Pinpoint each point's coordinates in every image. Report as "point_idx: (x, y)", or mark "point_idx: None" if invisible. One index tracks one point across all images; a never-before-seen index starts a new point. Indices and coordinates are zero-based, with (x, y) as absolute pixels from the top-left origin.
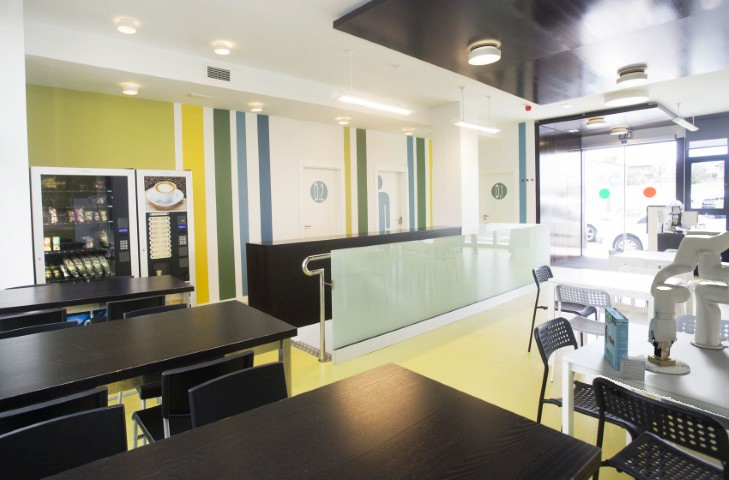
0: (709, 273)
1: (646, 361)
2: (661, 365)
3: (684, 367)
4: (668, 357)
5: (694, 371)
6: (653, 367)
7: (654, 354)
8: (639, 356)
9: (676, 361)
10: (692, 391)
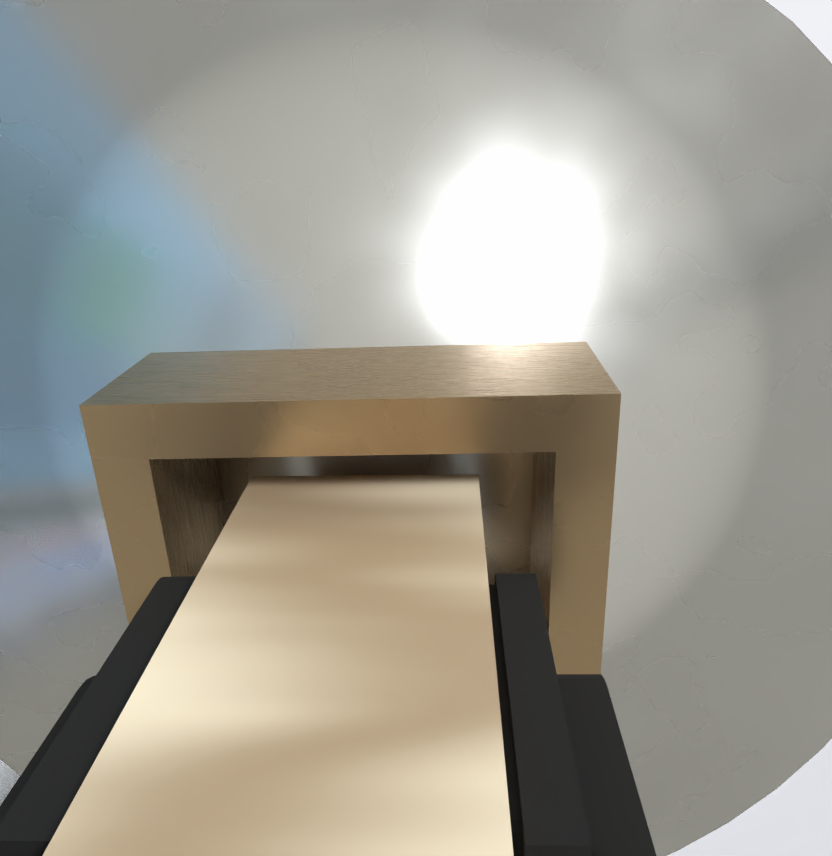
0: None
1: (81, 400)
2: None
3: (653, 785)
4: (559, 648)
5: (747, 819)
6: (41, 688)
7: (165, 592)
8: (100, 14)
9: (819, 518)
10: None
